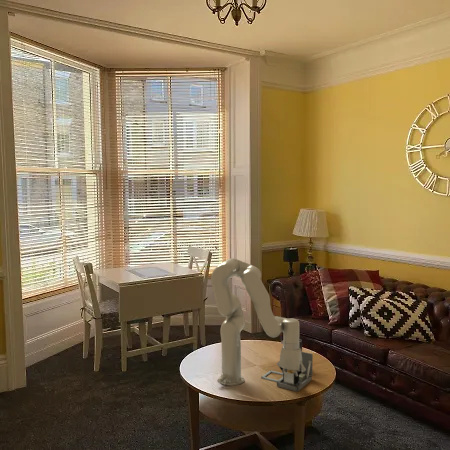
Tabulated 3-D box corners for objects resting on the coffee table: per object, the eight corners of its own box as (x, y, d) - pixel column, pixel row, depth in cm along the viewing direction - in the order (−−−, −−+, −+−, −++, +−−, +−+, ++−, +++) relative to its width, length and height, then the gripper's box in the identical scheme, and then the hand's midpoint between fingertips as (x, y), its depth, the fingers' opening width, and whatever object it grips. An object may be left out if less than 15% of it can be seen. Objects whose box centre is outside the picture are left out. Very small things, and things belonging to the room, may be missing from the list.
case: (297, 393, 226) (298, 365, 225) (276, 387, 232) (276, 360, 231) (312, 380, 240) (312, 353, 239) (292, 375, 246) (292, 349, 245)
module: (293, 389, 229) (293, 372, 228) (283, 386, 232) (284, 370, 231) (297, 385, 233) (298, 369, 232) (288, 382, 236) (288, 366, 235)
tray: (279, 383, 236) (279, 381, 236) (261, 379, 242) (261, 376, 242) (288, 376, 244) (288, 374, 244) (270, 372, 250) (270, 370, 250)
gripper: (271, 343, 232) (271, 380, 234) (304, 350, 223) (304, 388, 224) (278, 339, 238) (278, 375, 240) (311, 345, 229) (310, 383, 231)
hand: (291, 381), depth 232 cm, fingers closed on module, 5 cm apart
